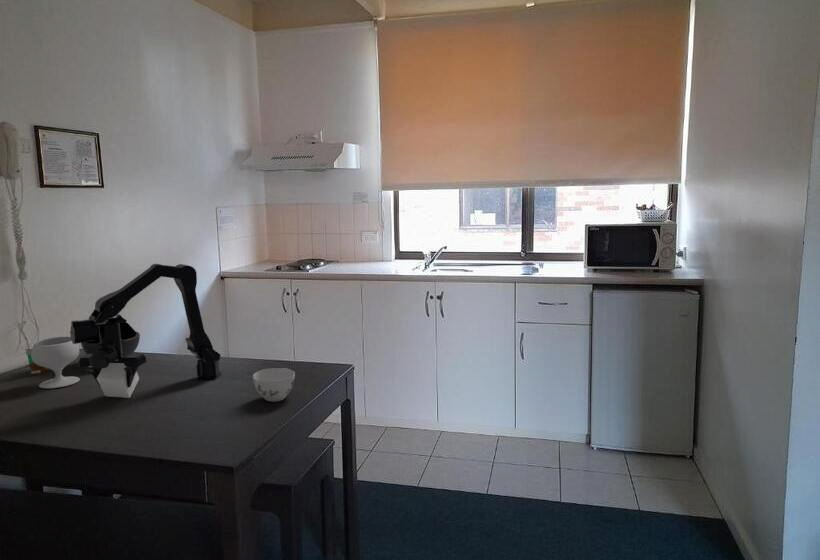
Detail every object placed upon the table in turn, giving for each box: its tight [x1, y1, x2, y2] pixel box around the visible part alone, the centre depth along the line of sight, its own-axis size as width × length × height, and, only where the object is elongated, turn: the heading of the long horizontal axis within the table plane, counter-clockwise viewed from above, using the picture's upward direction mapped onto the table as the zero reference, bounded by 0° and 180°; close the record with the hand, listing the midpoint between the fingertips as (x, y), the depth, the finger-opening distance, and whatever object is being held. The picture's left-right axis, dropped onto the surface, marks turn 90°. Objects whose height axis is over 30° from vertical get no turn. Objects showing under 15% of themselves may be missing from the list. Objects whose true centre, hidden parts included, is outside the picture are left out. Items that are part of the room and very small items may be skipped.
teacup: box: [252, 367, 296, 402], centre depth 182 cm, size 15×12×8 cm
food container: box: [25, 348, 54, 376], centre depth 216 cm, size 12×6×10 cm, turn 179°
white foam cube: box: [96, 363, 140, 399], centre depth 186 cm, size 8×8×9 cm
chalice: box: [31, 336, 81, 389], centre depth 201 cm, size 14×14×15 cm
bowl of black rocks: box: [80, 317, 141, 357], centre depth 224 cm, size 20×20×19 cm
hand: (115, 387), depth 184 cm, fingers open, 9 cm apart
